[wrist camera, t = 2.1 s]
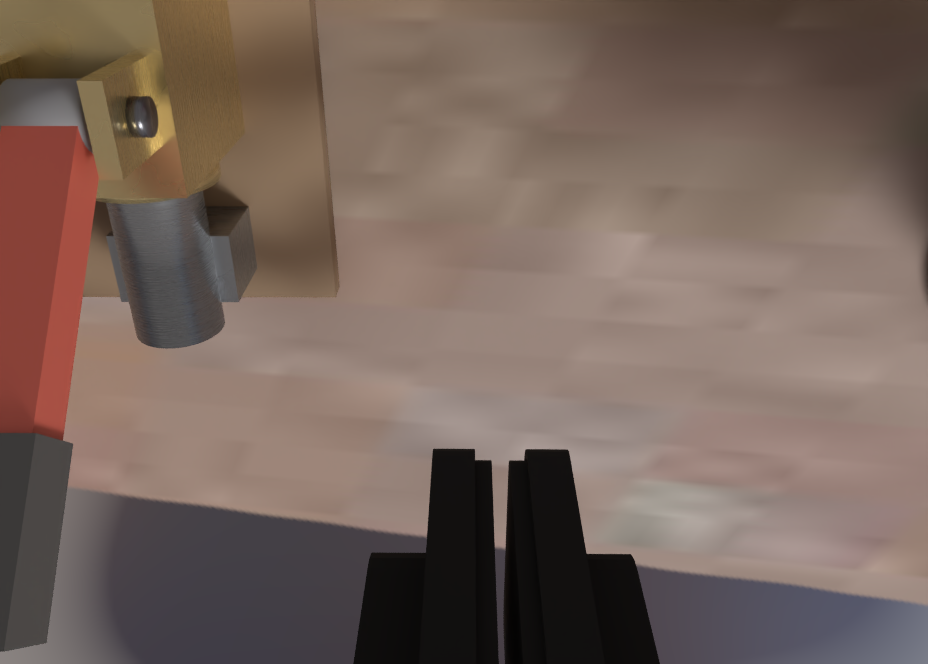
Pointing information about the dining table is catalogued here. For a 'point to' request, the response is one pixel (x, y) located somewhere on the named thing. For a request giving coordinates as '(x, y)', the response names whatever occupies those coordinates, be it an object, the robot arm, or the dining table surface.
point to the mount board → (268, 158)
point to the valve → (151, 145)
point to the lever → (38, 334)
